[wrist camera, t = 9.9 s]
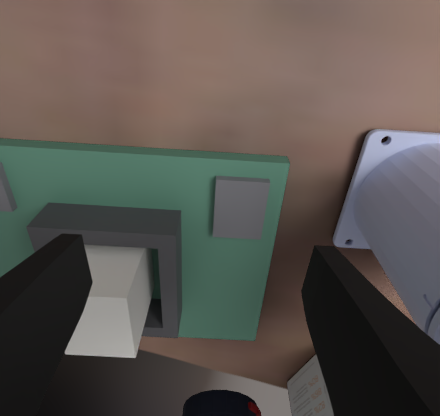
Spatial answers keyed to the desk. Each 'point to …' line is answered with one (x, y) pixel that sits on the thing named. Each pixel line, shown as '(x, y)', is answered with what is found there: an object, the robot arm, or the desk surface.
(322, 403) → the small box
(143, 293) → the plug block
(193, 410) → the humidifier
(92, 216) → the board
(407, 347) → the robot arm
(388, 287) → the desk surface
